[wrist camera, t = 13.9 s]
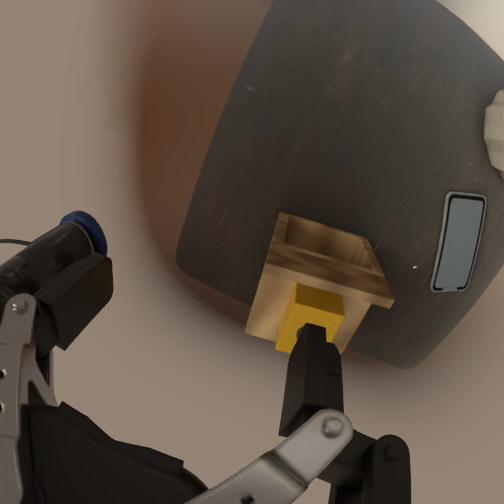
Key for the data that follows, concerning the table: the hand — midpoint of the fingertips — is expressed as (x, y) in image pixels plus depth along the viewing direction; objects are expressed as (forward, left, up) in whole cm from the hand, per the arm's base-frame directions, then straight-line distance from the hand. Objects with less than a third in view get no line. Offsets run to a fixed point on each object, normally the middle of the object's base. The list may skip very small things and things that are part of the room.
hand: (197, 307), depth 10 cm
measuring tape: (+8, -10, -16) cm, 21 cm away
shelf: (+8, -10, -26) cm, 29 cm away
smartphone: (+28, 0, -26) cm, 38 cm away
